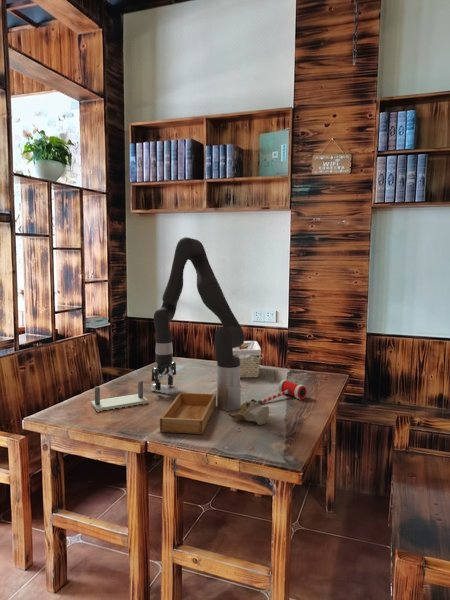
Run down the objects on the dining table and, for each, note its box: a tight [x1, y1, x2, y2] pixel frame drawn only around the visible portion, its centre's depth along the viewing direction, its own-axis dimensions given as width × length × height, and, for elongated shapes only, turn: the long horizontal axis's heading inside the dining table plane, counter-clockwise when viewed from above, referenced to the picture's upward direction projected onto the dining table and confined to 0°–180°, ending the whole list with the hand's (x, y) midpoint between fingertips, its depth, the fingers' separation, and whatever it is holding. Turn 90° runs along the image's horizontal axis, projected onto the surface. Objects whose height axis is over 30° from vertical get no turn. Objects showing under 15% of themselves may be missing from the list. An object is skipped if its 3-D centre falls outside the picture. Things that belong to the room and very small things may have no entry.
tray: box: [159, 392, 217, 435], centre depth 173 cm, size 31×15×6 cm, turn 172°
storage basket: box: [232, 340, 262, 379], centre depth 237 cm, size 24×16×15 cm
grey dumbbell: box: [150, 382, 179, 396], centre depth 204 cm, size 14×4×3 cm, turn 59°
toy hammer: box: [257, 379, 308, 406], centre depth 195 cm, size 23×12×6 cm, turn 127°
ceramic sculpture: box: [228, 398, 270, 426], centre depth 170 cm, size 11×9×15 cm
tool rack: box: [90, 379, 149, 412], centre depth 188 cm, size 21×10×8 cm, turn 119°
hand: (164, 387), depth 204 cm, fingers open, 8 cm apart
